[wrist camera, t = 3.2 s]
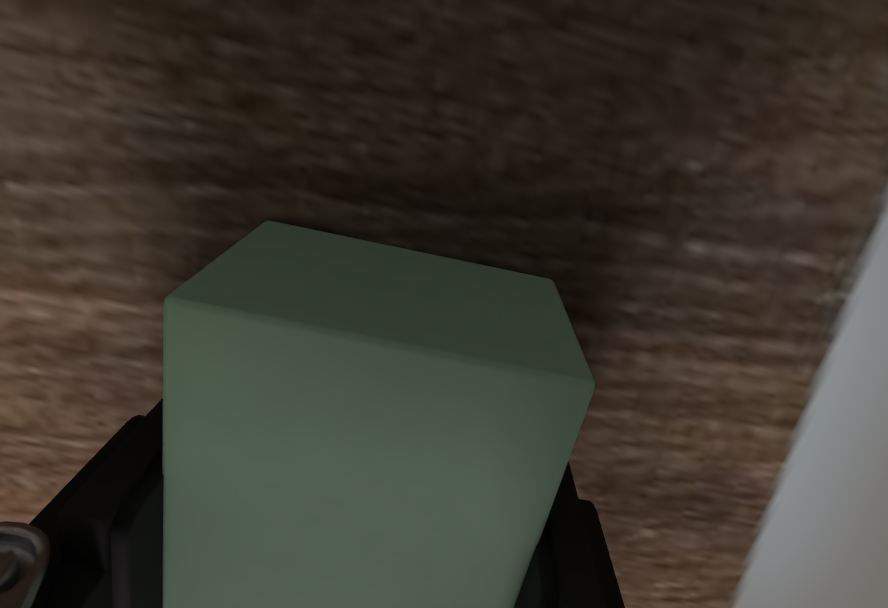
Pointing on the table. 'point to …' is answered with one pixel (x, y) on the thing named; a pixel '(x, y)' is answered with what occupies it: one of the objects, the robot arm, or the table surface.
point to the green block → (361, 426)
